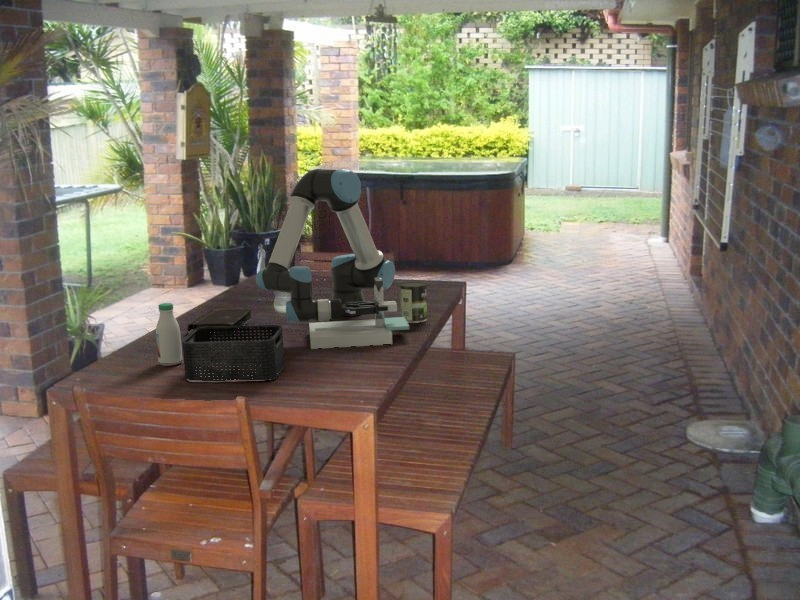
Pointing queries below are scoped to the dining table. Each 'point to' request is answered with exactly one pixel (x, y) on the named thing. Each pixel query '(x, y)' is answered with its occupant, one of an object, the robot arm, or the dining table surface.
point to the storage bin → (234, 353)
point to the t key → (379, 301)
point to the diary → (222, 318)
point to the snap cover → (396, 323)
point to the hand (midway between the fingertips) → (396, 306)
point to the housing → (347, 334)
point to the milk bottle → (168, 335)
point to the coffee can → (413, 301)
